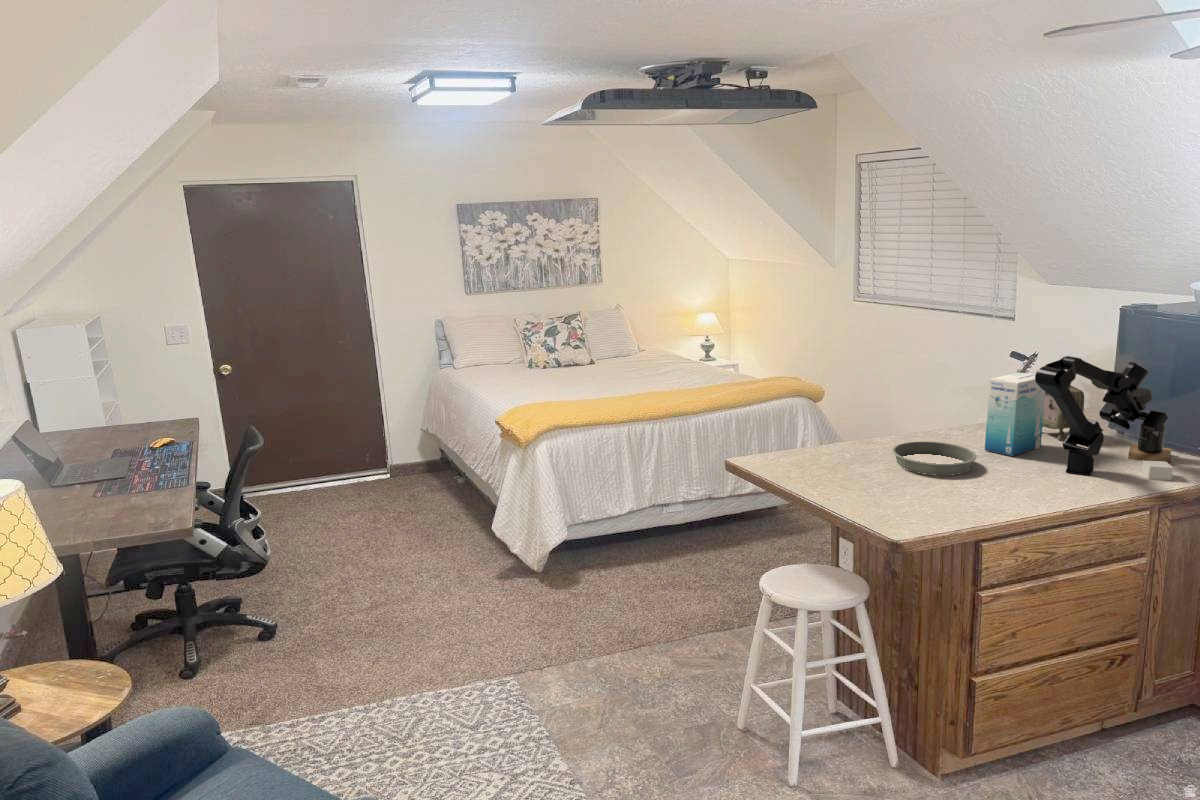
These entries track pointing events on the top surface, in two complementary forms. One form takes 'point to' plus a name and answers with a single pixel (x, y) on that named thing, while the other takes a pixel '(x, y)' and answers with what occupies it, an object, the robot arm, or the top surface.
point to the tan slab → (1149, 455)
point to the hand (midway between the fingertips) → (1142, 431)
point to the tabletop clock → (1059, 411)
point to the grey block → (1157, 470)
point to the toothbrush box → (1014, 414)
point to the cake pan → (934, 449)
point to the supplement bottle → (1150, 440)
